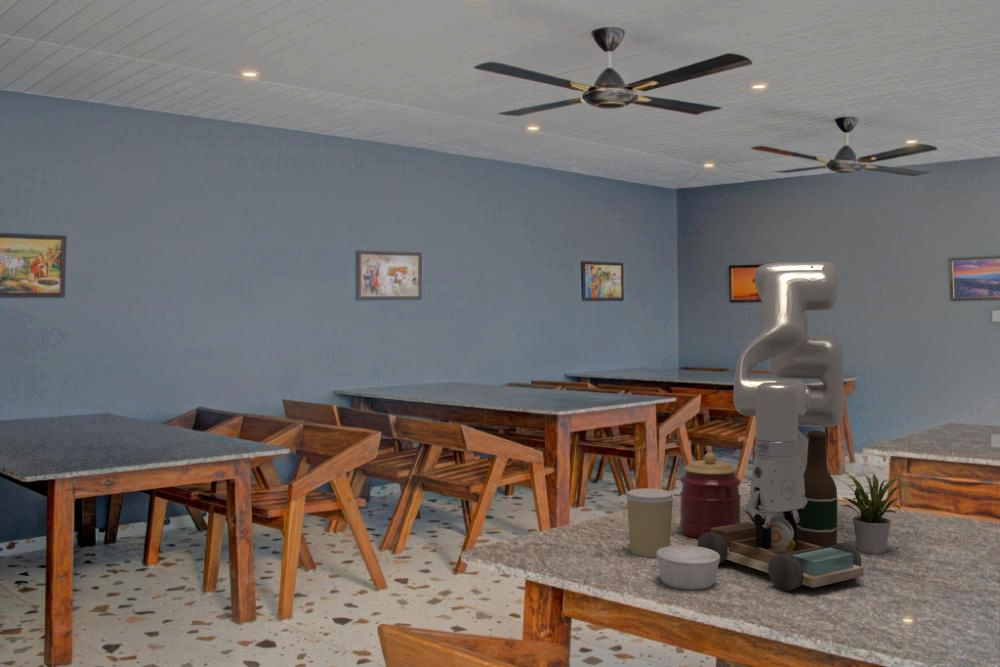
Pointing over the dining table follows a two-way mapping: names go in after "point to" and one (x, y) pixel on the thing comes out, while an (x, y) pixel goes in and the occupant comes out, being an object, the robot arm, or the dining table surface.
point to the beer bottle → (818, 497)
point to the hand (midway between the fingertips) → (776, 544)
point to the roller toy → (781, 534)
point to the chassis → (785, 558)
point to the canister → (709, 496)
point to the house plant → (872, 515)
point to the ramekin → (688, 566)
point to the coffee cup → (649, 520)
